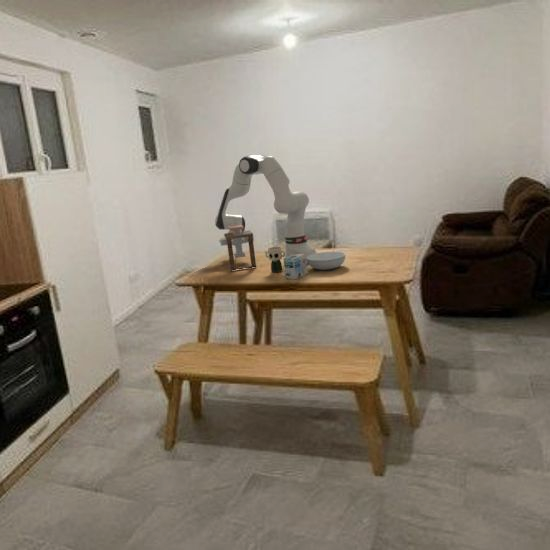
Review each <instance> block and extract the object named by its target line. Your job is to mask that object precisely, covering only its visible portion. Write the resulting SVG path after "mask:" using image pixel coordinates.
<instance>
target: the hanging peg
mask: <svg viewBox="0 0 550 550" xmlns="http://www.w3.org/2000/svg"><path fill="white" fill-rule="evenodd" d="M241 229H244V227H243V225H237V226H230V227H229V230H230V231H233V233H234V235H235V234H240V230H241ZM229 230H228V231H229ZM234 240H235V246H234V247H235V253H233V256H234V259H239V258H246V254H245V252H243V244H242V243H241V238H236V239H234Z"/></svg>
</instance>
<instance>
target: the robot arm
mask: <svg viewBox="0 0 550 550" xmlns="http://www.w3.org/2000/svg"><path fill="white" fill-rule="evenodd" d="M261 174H263V175H264V177H265V179H266V181H267V182H268V184H269V186H270V187H271V189H272V192H273V197H274V201H273V207H274V210H275V212H277V213H278V214H281V215H287V217H286V219H285V221H284V224H283V225H284V234H285V236H284V242H285V247H284V251H285V257H288V256H290V255H293V254H305V258H306V257H307V256H309V255H312V254H316V253H317V251H316V249H315V248H314V247H313V246H312V245H311V244H310V243H309V242H308V238H309V237H308V236H306V234H305V225H304V220H305V213H306V209H307V207H308V205H309V203H310V202H309V201H310V199H309V196H308V194H307V193H305V192H303V191H294V192H293V191H291V189H290V187H289V185H290V179H289V177H288V176H287V173H286V172H285V170H284V169H283V167H282V165H281V164H280V163H279V161H278V160H277V159H276V158H275V157H274V156H272V155H270V156H269V155H267V156H266V155H262V154H261V155H260V154H259V155H257V154H253V155H252V154H251V155H246V156H244V157H242V158H241V159H239V163H238V164H237V165H236V166H235V169H234V172H233V176H232V183H231V185H230V186H229V188H226V189H225V191H224V193H223V197H222V200H221V203H220V206H219V209H218V211H217V215H216V216H215V221H214V223H215V225H214V226H216V228H218V230H228V232H227V233H233V231H230V230H229V227H230V226H237V225H243V227H244V229H241V230H240V234H242V232H241V231H246V219H245V218H244V216H242V215H239V214H231V213H230V214H228V213H227V212H226V211H227V208H228V205H229V203H230V201H232V200H235V199H239V198H242V197H244V196H247V194H248V193H249V192H250V189H251V182H252V177H253V175H261ZM233 234H234V233H233ZM231 241H232V246H234V247H235V240H234V239H231ZM254 241H255V238H254V236H253V242H254ZM218 242H219V243H220V246H221V247H222V246H227V240H226V238H225V237H222V238H220V239H219V240H218ZM241 243H242V245H243V244H247V243H248V237H243V238H241ZM285 257H284V258H285ZM306 265H309V264H308V263H307V260H306Z"/></svg>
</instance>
